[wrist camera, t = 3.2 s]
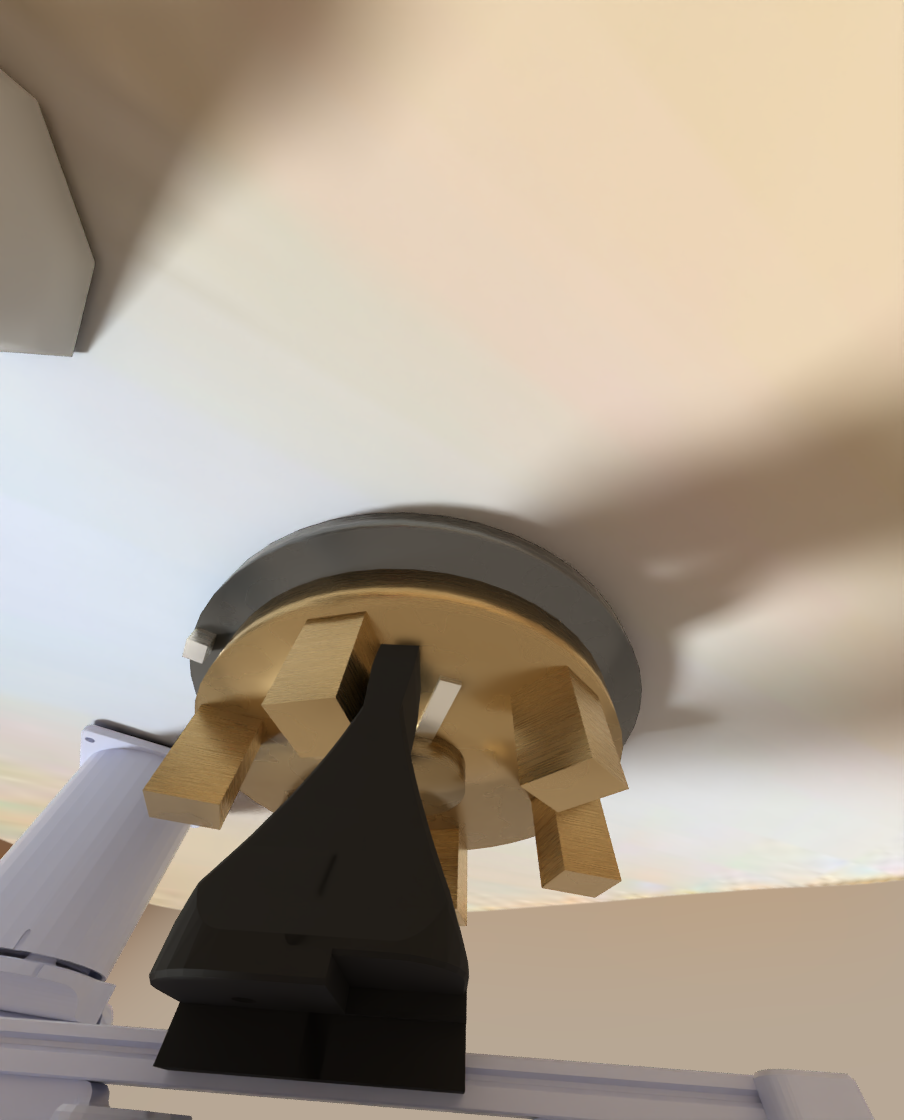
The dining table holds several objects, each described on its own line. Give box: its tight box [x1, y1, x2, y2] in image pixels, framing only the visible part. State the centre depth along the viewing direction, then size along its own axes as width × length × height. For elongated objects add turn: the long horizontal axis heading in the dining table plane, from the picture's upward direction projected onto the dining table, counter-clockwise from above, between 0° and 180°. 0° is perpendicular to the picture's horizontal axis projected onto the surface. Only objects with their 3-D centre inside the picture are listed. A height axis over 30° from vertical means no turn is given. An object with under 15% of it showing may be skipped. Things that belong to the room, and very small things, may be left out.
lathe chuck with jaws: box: [142, 569, 629, 926], centre depth 16 cm, size 18×18×5 cm
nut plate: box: [182, 513, 642, 745], centre depth 19 cm, size 21×21×2 cm
